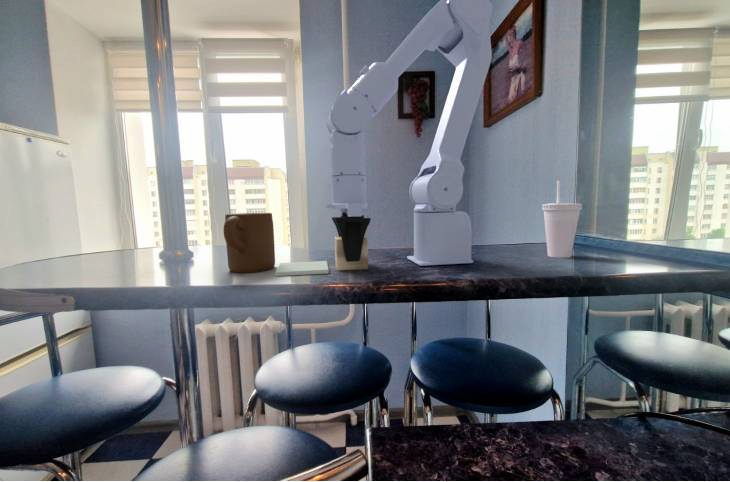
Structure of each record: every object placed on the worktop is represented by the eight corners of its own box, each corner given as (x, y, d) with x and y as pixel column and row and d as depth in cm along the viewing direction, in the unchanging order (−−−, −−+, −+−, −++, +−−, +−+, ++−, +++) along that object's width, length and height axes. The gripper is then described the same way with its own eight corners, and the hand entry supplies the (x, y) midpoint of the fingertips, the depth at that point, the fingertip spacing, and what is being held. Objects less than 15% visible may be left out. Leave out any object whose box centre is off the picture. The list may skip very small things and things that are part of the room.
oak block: (363, 263, 58) (362, 235, 57) (368, 268, 53) (367, 238, 52) (335, 264, 57) (334, 236, 56) (337, 270, 52) (336, 239, 51)
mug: (256, 279, 46) (252, 214, 45) (204, 280, 47) (199, 215, 46) (281, 264, 58) (278, 212, 57) (240, 265, 59) (236, 213, 58)
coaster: (326, 264, 58) (326, 260, 57) (328, 273, 50) (328, 269, 50) (280, 266, 56) (280, 263, 56) (275, 276, 48) (274, 272, 48)
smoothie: (547, 252, 65) (550, 181, 63) (584, 255, 60) (588, 179, 58) (533, 256, 61) (536, 180, 59) (572, 260, 56) (576, 178, 54)
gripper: (322, 180, 60) (325, 253, 61) (325, 172, 45) (329, 267, 47) (360, 180, 61) (362, 251, 62) (375, 172, 46) (376, 265, 48)
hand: (350, 258), depth 55 cm, fingers closed on oak block, 5 cm apart
